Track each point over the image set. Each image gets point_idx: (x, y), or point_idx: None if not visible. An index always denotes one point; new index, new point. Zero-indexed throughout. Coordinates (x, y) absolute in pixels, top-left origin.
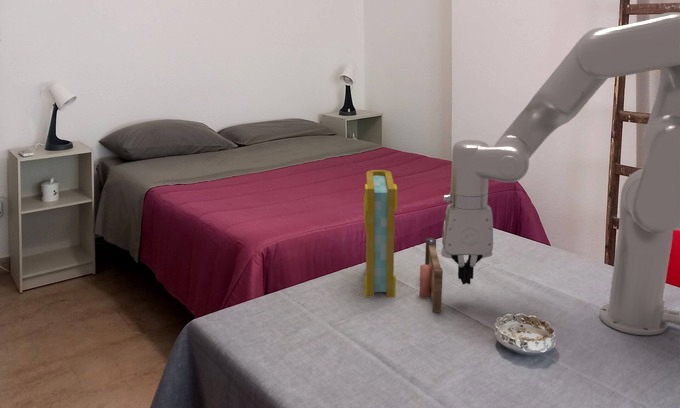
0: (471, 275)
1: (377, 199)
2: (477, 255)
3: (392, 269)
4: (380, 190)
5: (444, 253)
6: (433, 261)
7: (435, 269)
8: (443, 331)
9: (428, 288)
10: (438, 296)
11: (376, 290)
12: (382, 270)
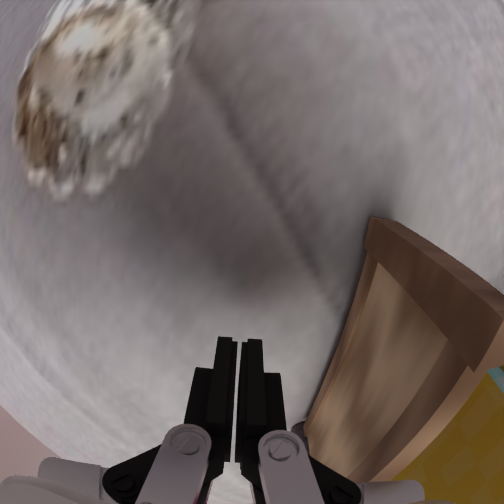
0: (203, 380)
1: None
2: (138, 498)
3: (492, 396)
4: None
5: (409, 501)
6: (421, 449)
7: None
8: (392, 72)
9: None
10: (416, 241)
11: None
12: (502, 390)
